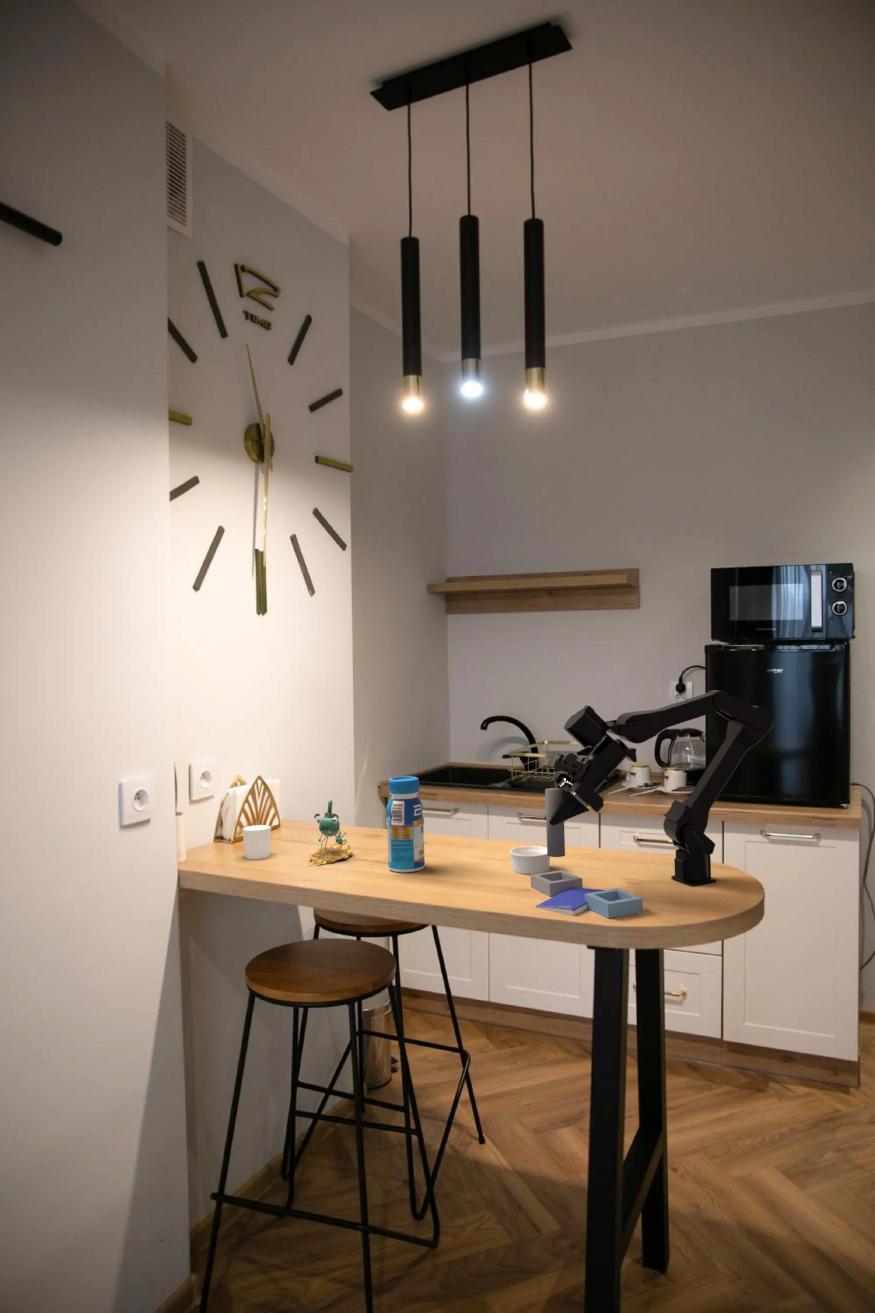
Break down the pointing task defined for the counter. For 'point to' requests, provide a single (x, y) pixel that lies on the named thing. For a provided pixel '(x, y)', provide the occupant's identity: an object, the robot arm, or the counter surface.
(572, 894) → the blue book
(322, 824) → the frog figurine
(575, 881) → the grey square frame
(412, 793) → the beverage bottle
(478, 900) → the counter surface
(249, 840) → the white short cylinder
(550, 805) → the plug
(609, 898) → the blue bezel
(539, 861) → the ramekin
